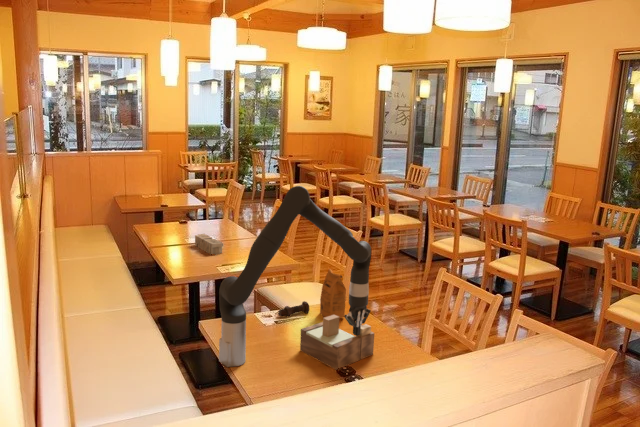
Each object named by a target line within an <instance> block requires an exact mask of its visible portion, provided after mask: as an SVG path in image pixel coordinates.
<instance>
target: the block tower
mask: <svg viewBox="0 0 640 427" xmlns="http://www.w3.org/2000/svg"><path fill="white" fill-rule="evenodd" d="M194 246H195V247H197V248H198V249H199V250H200V249H201V250H202V251H203V250H204V251H203V252H205V251H206V252H205V253H207V254H209V253H210V254H209V255H211V254H215V255H219V254H220V253H222V254H223V247H224V242H222V241H220V240H218V239H216V238H213V237H211V236H210V235H207V234H206V233H200V234H196V235H194ZM220 255H221V254H220Z"/></svg>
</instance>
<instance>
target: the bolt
mask: <svg viewBox="0 0 640 427" xmlns="http://www.w3.org/2000/svg"><path fill="white" fill-rule="evenodd" d="M302 312H303V313H305V314H308V313H309V312H310V305H309V303H308V302H307V301H305V300H304V301H302V302H301V304H299V305H294V306H288V305H286V306H285V305H284V307H283V308H281V309H279V310H278V311H277V315H278V316H279V317H284V316H286V317H287V316H288V317H291V315H293V314H297V313H302Z"/></svg>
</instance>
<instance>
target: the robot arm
mask: <svg viewBox="0 0 640 427" xmlns="http://www.w3.org/2000/svg"><path fill="white" fill-rule="evenodd" d="M310 196H311V195H310V193H309V190H308V189H307V188H306V187H305V186H302V185H296V186H295V185H294V186H293V187H291V188H290V189H289V190H287V192H286V194H285V196H284V197H283V200H282V202H281V203H280V205H279V207H278V209H277V210H276V212H275V213H274V215H273V216H272V217H271V218H270V220H269V221H268V222H267V224H266V225H265V226H264V227H263V228H262V230H261V231H260V233H259V234H258V236H257V237H256V238H255V240H254V241H253V243H252V245H251V247H250V251H249V253H248V257H247V261H246V264H245V266H244V268H243V270H242V272H241V273H240V274H239V276H234V275H231V276H227V277H225V278H224V279H223V280H222V282H221V283H220V286H219V290H218V291H219V292H218V294H219V295H218V296H219V298H218V299H219V311H220V316H221V331H220V332H221V335H220V336H221V337H219V339H218V346H219V347H218V348H219V350H218V362H220V363H221V364H222V365H223V366H225V367H227V368H230V367H239V366H242V365H244V364H245V363H246V358H247V357H246V353H247V352H246V351H247V350H246V349H247V348H246V347H247V311H246V309H245V306H244V304H245V302H246V301H247V300H248V299H249V297H250V296H251V294H252V292H253V290H254V289H255V286H256V285H257V282H258V280H260V277H261V276H262V275H263V274H264V271H265V270H266V269H267V267H268V266H269V264H270V262H271V261H272V259H273V258H274V257H275V255H276V254H277V252H278V251H279V249H280V248H281V247H282V245H283V243H284V241H285V239H286V237H287V234H288V232H289V230H290V228H291V225H292V224H293V223H294V221H295V220H296V218H297V217H298V216H299V215H300V216H301V217H303V218H305V219H306V220H308V222H311V223H312V224H313V225H314V226H316V227H317V229H319V230H320V231H322V232H323V233H324V234H325V235H326V236H327V237H328V238H330V240H332V241H333V242H334V243H335V244H337V245H338V246H340V248H341V250H343V252H344V254H346V255H347V256H348V257H349V259H351V260H352V262H353V263H352V267H351V270H350V282H349V290H348V291H349V292H348V305H349V309H348V313H347V314H345V315H344V317H343V318H344V319H345V321H346V322H347V323H348V324H349V326H352V333H353V334H352V335H353V336H358V335H360V329H361V326H362V325H365V324H366V321H367V319H368V317H369V316H370V313H371V312H372V311H371V309H369V308H368V307H367V306H368V304H369V295H370V294H369V291H370V286H369V281H370V280H369V278H370V265H371V260H372V247H371V245H370V243H369V242H367V241H365V240H360V241H358V240H357V239H356V238H355V237H354V235H353V232H352V231H351V230H350V229H349V228H347V227H346V226H345V225H344V224H342V223H341V222H340V221H339V220H337V219H336V218H334V217H332V216H331V215H330V214H328V213H326V212H325V211H324V210H322V209H321V208H320V207H319V206H318V205H317V204H316V203H315V202H314V201H313V200H312V199H311V197H310Z"/></svg>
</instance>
